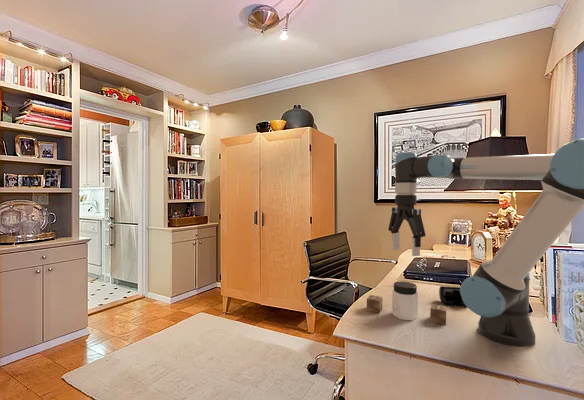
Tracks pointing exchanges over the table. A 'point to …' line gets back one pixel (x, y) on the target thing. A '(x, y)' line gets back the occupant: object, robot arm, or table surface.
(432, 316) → the walnut block
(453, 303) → the end cap
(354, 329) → the table surface
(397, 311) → the jar
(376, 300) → the walnut block
